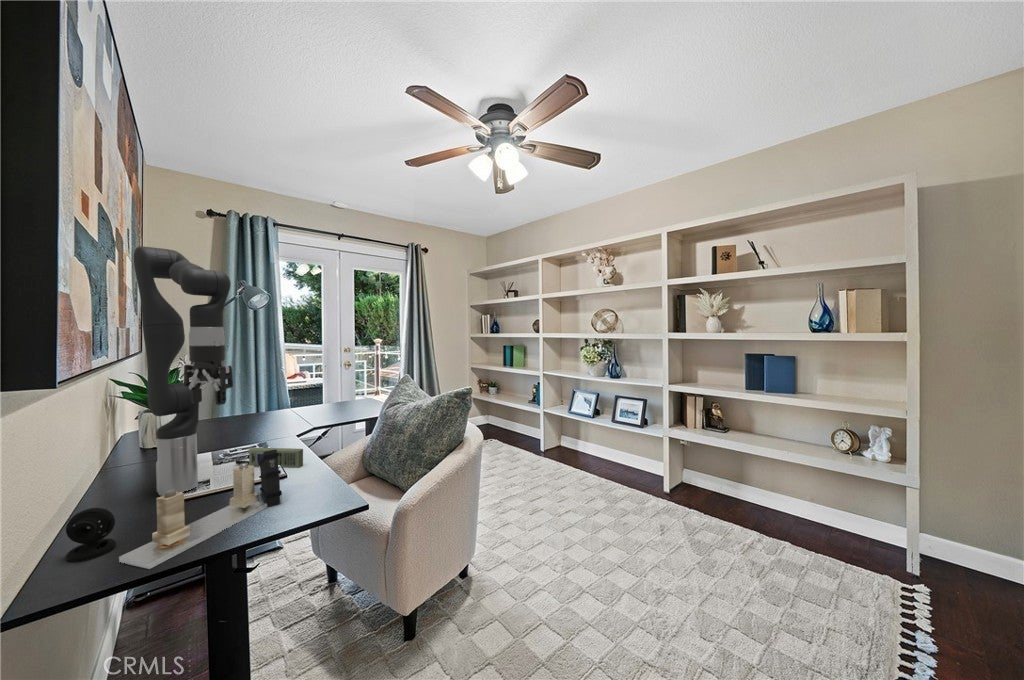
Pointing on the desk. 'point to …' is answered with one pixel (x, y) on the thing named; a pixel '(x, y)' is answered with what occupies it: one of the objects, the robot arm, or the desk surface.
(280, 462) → the handheld radio
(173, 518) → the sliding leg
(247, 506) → the bolt-hole plate
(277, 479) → the black boxy piece
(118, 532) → the desk surface
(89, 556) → the webcam
